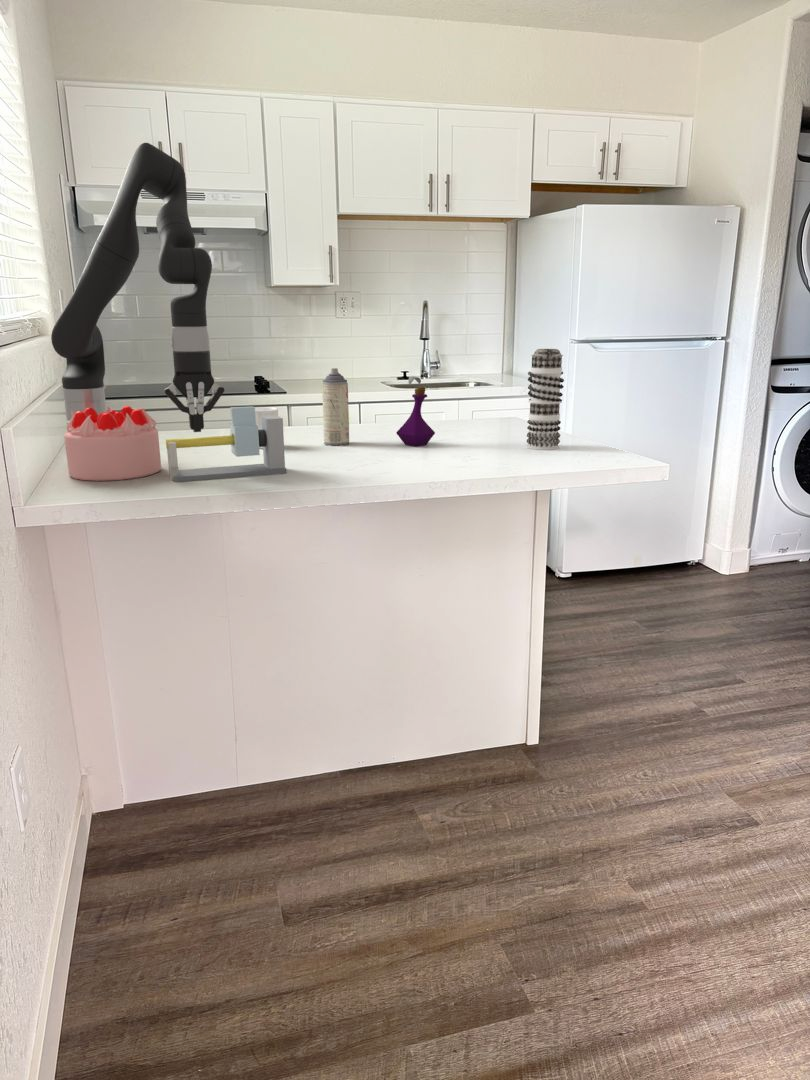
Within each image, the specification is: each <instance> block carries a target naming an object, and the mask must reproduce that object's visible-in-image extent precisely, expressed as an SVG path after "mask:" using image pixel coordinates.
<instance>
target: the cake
mask: <svg viewBox="0 0 810 1080" xmlns="http://www.w3.org/2000/svg"><path fill="white" fill-rule="evenodd" d="M106 410H107V413H106V412H102V413H100V415H98V413H97V412H96V410H95V409H93V408H87V409H86V410H85V411H84V412H82V411H79V412H77V413H76V414H75V413H73V412H72V410H71V414H72V418H71V420H70V421H69V422H68V424H67V423H66V432H65V434H64V437H63V438H64V447H65V456H66V461H67V470H68V474H69V476H70V477H71V478H73V479H75V480H82V481H89V482H90V481H92V482H93V481H95V482H98V481H99V482H107V481H108V482H109V481H123V480H129V479H130V480H131V479H132V480H133V479H139V478H143V477H148V476H151V475H155V474H157V473H158V472H160V470H161V469H162V462H161V461H162V460H161V450H160V449H161V448H160V437H159V431H158V429H157V427H156V425H157V421H156V420H155V419H154V418H153V417H151V416H150V415H149V414H148V413H147V411H146V410H145V408H144V407H143V408H142V409H139V408H136V409H133V408H132V407H131V406H129V405H125V406H123V407H121V410H120V411H116V410H114V409H111V407H109V406H106Z"/></svg>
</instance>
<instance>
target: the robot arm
mask: <svg viewBox="0 0 810 1080" xmlns="http://www.w3.org/2000/svg"><path fill="white" fill-rule="evenodd" d="M142 190H143V191H145V192H146V193H149V194H150V195H152V196H154V197H156V198H157V199H161V200H162V201H163V203H164V205H162V207H160V209H159V210H158V212H157V215H156V220H155V221H156V222H155V224H156V226H155V227H156V230H157V234H158V239H159V241H160V252H159V256H158V264H157V268H158V273H159V275H160V277H161V279H162V280H163V281H165V282H166V283H167V284H171V285H194V287H193V290H192V291H191V293H188V294H186V295H179V296H176V297H173V298H172V299H171V301H170V315H171V316H170V317H171V326H172V329H171V330H172V331H171V348H172V359H173V367H174V368H173V369H174V375H173V379H172V383H171V384H170V385H169V386H168V387H165V388H164V389H163V393H164V394H165V395H166V396H167V397H168V398H169V399H170V401H171V402H172V403H173V404H174V405H175V406H176V407H177V408H178V409H179V410H180V411H181V412H183V413H185V414H187V415H188V424H189V428H190V429H191V430H192V431H193V433H201V432H202V430H204V427H205V424H204V421H205V420H204V414H205V413H207V412H210V411H212V410H213V408H214V407H215V405H216V404H217V403H218V401H219V400H220V398H221V396H222V395H223V394H224V393H225V388H224V387H223V386H221V385H219V384H218V383H216V382H215V378H214V376H213V375H212V365H211V350H210V346H211V345H210V338H209V337H210V336H209V331H208V327H207V326H208V324H207V322H208V321H207V309H206V308H207V296H208V288H209V284H210V281H211V280H210V279H211V275H212V270H213V264H212V263H213V262H212V259H211V258H212V257H210V254H209V253H208V252H207V251H206V250H205V249H203V248H200V247H199V248H198V247H196V238H195V235H194V231H193V229H192V224H191V222H190V218H189V212H188V195H187V192H188V191H187V178H186V173H185V169H184V167H183V165H182V164H181V162H179V161H178V160H177V159H175V158H174V157H172V156H171V155H170V154H167V153H166V152H165V151H162V150H161V149H159V148H158V147H156V145H155V146H154V145H153V144H151V143H149V142H142V143H140V144H139V145H138V146H137V147H136V149H135V151H134V152H133V154H132V155H131V157H130V159H129V162H128V165H127V167H126V170H125V173H124V175H123V178H122V180H121V184H120V187H119V189H118V192H117V195H116V198H115V200H114V203H113V205H112V208H111V210H110V212H109V214H108V216H107V219H106V221H105V223H104V225H103V227H102V229H101V231H100V233H99V235H98V237H97V239H96V241H95V243H94V246H93V247H92V250H91V252H90V254H89V257H88V258H87V261H86V263H85V266H84V268H83V270H82V273H81V274H80V277H79V279H78V281H77V284H76V286H75V289H74V291H73V294H72V295H71V297H70V298H69V301H68V303H67V304H66V306H65V308H64V309H63V311H62V312H61V314H60V315H59V317H58V319H57V320H56V321H55V325H54V326H53V328H52V331H51V337H50V342H51V344H52V348H53V349H54V351H55V353H57V354H58V355H59V356H60V357H62V358H63V359H66V360H65V361H66V368H65V371H64V373H63V375H62V376H61V384H62V391H63V399H64V400H63V401H64V408H65V413H66V414H65V415H66V425H67V424H68V422H69V421H70V420H71V418H72V414H71V410H72V412H73V413H75V414H76V413H77V412H79V411H82V412H84V411H85V410H86V409H87V408H93V409H95V410H96V412H97V413H98V415H100V413H102V412H106V413H107V402H106V393H105V385H104V384H105V383H104V382H105V381H104V379H105V378H104V377H105V375H106V364H105V360H106V359H105V349H104V347H105V346H104V340H103V336H102V332H101V330H100V329H99V327H98V325H97V324H98V321H99V319H100V317H101V316H102V315H101V314H102V313H103V311H104V309H105V308H106V307H107V305H109V303H110V302H111V301H112V300H113V299H114V297H116V295H117V294H118V293H119V291H120V290H121V289H122V288H123V286H125V284H126V282H127V281H128V278H129V277H130V276H131V273H132V271H133V269H134V267H135V265H136V262H137V261H138V259H139V255H140V241H139V239H140V238H139V233H138V227H137V226H138V225H137V216H136V215H137V213H136V212H137V206H138V200H139V198H140V194H141V192H142ZM211 388H212V389H211ZM176 389H177V390H178V391H179V393H180V394H181V395H182V397H184V398H185V400H186V401H185V402H186V405H187V406H186V405H184V404H183V403H182V401H181V400H180V399H179V398H178V397H177V396H176V395H177V393H178V392H177V391H176ZM210 390H211V392H212V395H211V396H210V397H209V399H207V402H206V403H205V397H206V396H207V395H208V394H209V392H210ZM194 398H195V399H194ZM204 403H205V404H204ZM195 407H196V408H195Z"/></svg>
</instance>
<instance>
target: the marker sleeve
mask: <svg viewBox="0 0 810 1080" xmlns="http://www.w3.org/2000/svg"><path fill="white" fill-rule="evenodd" d="M255 408H256V407H255V406H234V407H232V406H230V408H229V409H230V423H229V433H230V435H234V443H235V444H234V445H231V446H230V449H231V453H232V454H233V455H234V456H236V458H239V457H249V456H250V457H251V456H252V457H253V456H260V454H261V453H260V449H259V435H258V426H257V425H256V419H255ZM230 435H229V436H230Z"/></svg>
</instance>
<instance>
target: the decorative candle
mask: <svg viewBox="0 0 810 1080" xmlns="http://www.w3.org/2000/svg"><path fill="white" fill-rule="evenodd" d="M563 356H564V355H563V354H562V353H561V351H560V349H558V348H537V349H536V350H535V351H534V353H533V354H531V367H530V371H528V372H527V374H528V378H527V381H528V382H529V383H530V384H528V386H527V389H528V392H527V395H528V396H529V397H530V398H529V399H528V403H529V413H528V419H527V424H529V425H528V426H527V427H526V429H527V430H529V431H528V432H527V434H526V437H527V439H526V443H527V445H526V448H527V449H530V450H536V451H552V450H558V449H560V445H559V444H560V443H561V440H560V439H559V438H560V437H561V434H560V432H559V431H560V430H561V426H559V425H560V424H561V423H562V422H561V420H560V419H561V418H560V417H561V413H560V404H561V403H562V401H563V399H561V397H563V393H562V392H561V391H560V390H562V389H563V388H564V385H563V384H562V383H564V382H565V379H564V378H563V377H561V376H562V375H563V374H564V372H563V367H562V363H563Z"/></svg>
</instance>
